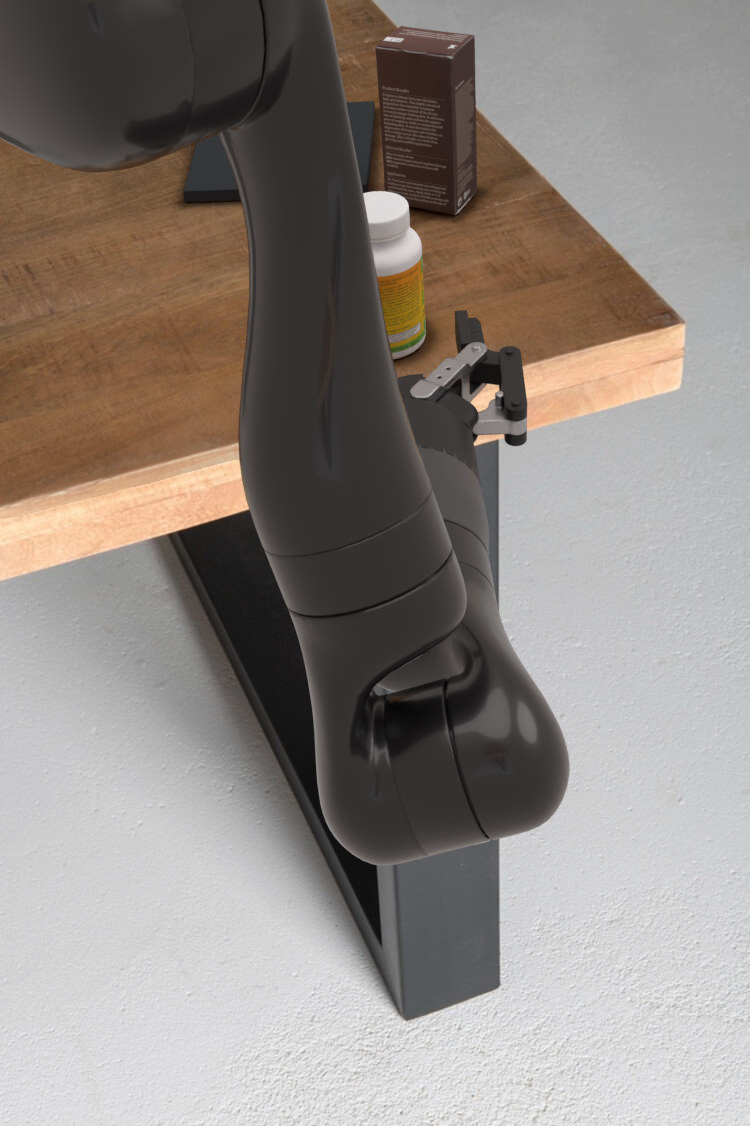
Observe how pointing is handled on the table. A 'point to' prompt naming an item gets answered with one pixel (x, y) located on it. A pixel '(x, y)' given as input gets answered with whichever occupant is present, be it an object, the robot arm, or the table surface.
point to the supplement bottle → (397, 270)
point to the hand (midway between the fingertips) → (388, 329)
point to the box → (428, 117)
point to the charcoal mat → (216, 177)
